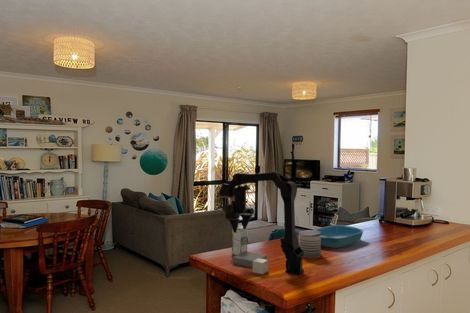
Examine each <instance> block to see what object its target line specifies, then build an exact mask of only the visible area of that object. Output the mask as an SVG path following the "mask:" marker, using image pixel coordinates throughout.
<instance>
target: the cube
mask: <svg viewBox="0 0 470 313" xmlns="http://www.w3.org/2000/svg"><path fill="white" fill-rule="evenodd" d="M268 267H269V261H268V259H267V260H265V259H260V258H257V259H256V260H254V261H253V267H252V273H255V274H261V275H264V274H266V273H267V272H268V270H269V268H268Z"/></svg>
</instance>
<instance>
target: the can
mask: <svg viewBox="0 0 470 313" xmlns="http://www.w3.org/2000/svg"><path fill="white" fill-rule="evenodd" d="M320 233H321V232H320V231H317V230H315V229H306V230H301V231H299V232H298V242H299V246H300V248H301V249H302V250H303V251H304V254H303V256H302V258H310V259H314V258H319V257H321V253H322V252H321V251H322V248H321V247H322V245H321V234H320Z"/></svg>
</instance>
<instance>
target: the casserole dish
mask: <svg viewBox="0 0 470 313" xmlns="http://www.w3.org/2000/svg"><path fill="white" fill-rule="evenodd" d="M314 230H317V231H320V232H321V233H320V234H321V247H322V246H323V247H328V248H330V247H331V248H332V249H339V248H343V247H347V246H350V245H353V244H355V242H356V243H358V242H359V241H360V240H361V238H362V236H363V233H364V230H363V229H361V228H359V227H355V226H351V225H343V224H342V225H341V224H333V225H327V226H324V227H319V228H315V229H314ZM357 241H358V242H357ZM352 243H353V244H352ZM349 244H350V245H349Z"/></svg>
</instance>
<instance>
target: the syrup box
mask: <svg viewBox="0 0 470 313" xmlns="http://www.w3.org/2000/svg"><path fill="white" fill-rule="evenodd" d="M231 229H232V228H231ZM248 229H249V228H248V226H247V227H246V229H243V224H238V228H237V231H236V233H234V232H233V229H232V234H231V238H232V240H231V254H232V255H233V254H234V256H236V255H239V254H241V253H243V252H245V251H247V252H248Z"/></svg>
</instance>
